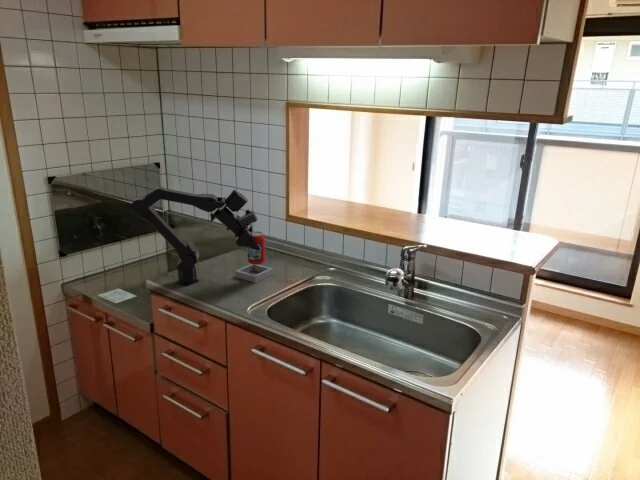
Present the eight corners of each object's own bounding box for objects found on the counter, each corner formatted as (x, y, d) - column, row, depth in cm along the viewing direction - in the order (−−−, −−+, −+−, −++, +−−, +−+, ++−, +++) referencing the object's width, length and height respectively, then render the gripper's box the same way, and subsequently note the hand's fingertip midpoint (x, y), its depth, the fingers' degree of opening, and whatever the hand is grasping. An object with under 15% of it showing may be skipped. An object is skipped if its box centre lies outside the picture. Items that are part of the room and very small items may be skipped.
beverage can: (244, 264, 195) (243, 234, 192) (253, 258, 201) (252, 230, 197) (259, 266, 193) (258, 237, 189) (268, 261, 198) (267, 232, 195)
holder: (255, 282, 195) (255, 276, 194) (235, 276, 201) (234, 270, 200) (273, 274, 204) (273, 268, 203) (253, 268, 209) (253, 263, 209)
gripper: (243, 211, 180) (275, 239, 185) (244, 199, 198) (273, 225, 203) (222, 232, 182) (254, 260, 187) (225, 219, 199) (254, 244, 204)
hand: (259, 246), depth 195 cm, fingers closed on beverage can, 7 cm apart
